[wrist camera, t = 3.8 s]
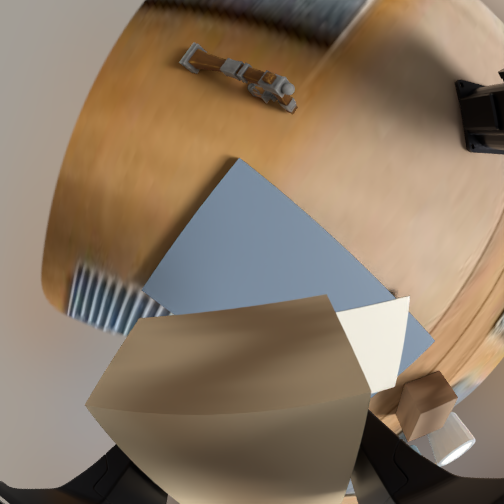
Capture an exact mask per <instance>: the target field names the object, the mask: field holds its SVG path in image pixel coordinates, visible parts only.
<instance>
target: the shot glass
mask: <svg viewBox="0 0 504 504" xmlns="http://www.w3.org/2000/svg"><path fill="white" fill-rule="evenodd" d="M427 436H428V439H429V442H430V444H431V448H432V451H433V454H434V457H435V460H436V463H437V465H438V466H439V467H441V466H444V465H446V464H448V463H450V462H452V461H454V460H455V459H457V458H459V457H460V456H461V455H463V454H464V453H465V452H466V451H467V450H468V449H469V448H471V446H472V445H473V444H474V443H475V438H474V437H473V436H472V434H471V433H470V432H469V430H468V429H467V428H466V426H465V425H464V424H463V422H462V421H461V420H460V418H459V417H458V416H457V415H456V413H454V412H451V413H450V414H449V416H448V418H447V420H446V422H445V424H444V426H443V427H442V428H440V429H438V430H436V431H434V432H431V433H429V434H427Z"/></svg>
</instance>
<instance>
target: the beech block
mask: <svg viewBox="0 0 504 504" xmlns="http://www.w3.org/2000/svg"><path fill="white" fill-rule="evenodd" d="M371 392H372V391H371V389H370V387H369V384H368V382H367V380H366V377H365V375H364V373H363V371H362V368H361V366H360V364H359V362H358V359H357V357H356V355H355V353H354V351H353V348H352V346H351V344H350V342H349V340H348V338H347V335H346V333H345V331H344V329H343V327H342V325H341V323H340V321H339V319H338V316H337V314H336V312H335V310H334V308H333V306H332V304H331V302H330V300H329V298H328V296H327V294H325V295H319V296H313V297H308V298H302V299H295V300H289V301H283V302H276V303H270V304H263V305H256V306H249V307H241V308H234V309H226V310H218V311H209V312H200V313H191V314H182V315H171V316H160V317H149V318H139V320H138V321H137V323H136V324H135V326H134V327H133V329H132V330H131V332H130V333H129V335H128V336H127V338H126V339H125V341H124V342H123V344H122V345H121V347H120V349H119V350H118V352H117V353H116V355H115V356H114V358H113V360H112V361H111V363H110V364H109V366H108V368H107V369H106V371H105V372H104V374H103V375H102V377H101V379H100V380H99V382H98V384H97V385H96V387H95V389H94V390H93V392H92V394H91V395H90V397H89V399H88V400H87V402H86V404H85V406H86V407H87V409H88V410H89V411H90V413H91V414H92V415H93V417H94V418H95V419H96V421H97V422H98V423H99V424H100V426H101V427H102V428H103V429H104V430H105V432H106V433H107V434H108V435H109V436H110V437H111V439H112V440H113V441H114V442H115V443H116V444H117V445H118V447H119V448H120V449H121V450H122V451H123V452H124V453H125V454H126V455H127V456H128V457H129V458H130V459H131V460H132V461H133V462H134V463H135V464H136V465H137V466H138V467H139V468H140V469H141V470H142V471H143V472H144V473H145V474H146V475H147V476H148V477H149V478H150V479H151V480H152V481H154V482H155V483H156V484H157V485H158V486H159V487H160V488H162V489H163V490H164V491H165V492H166V493H167V494H169V495H170V496H171V497H172V498H174V499H175V500H176V501H177V502H179V503H180V504H342V501H343V498H344V495H345V493H346V490H347V487H348V484H349V481H350V478H351V474H352V471H353V468H354V465H355V461H356V458H357V454H358V450H359V447H360V443H361V439H362V435H363V431H364V426H365V422H366V417H367V413H368V408H369V402H370V397H371Z"/></svg>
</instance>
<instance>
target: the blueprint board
mask: <svg viewBox="0 0 504 504" xmlns="http://www.w3.org/2000/svg"><path fill="white" fill-rule="evenodd" d="M142 291H143V292H145V293H146V294H147V295H149V296H150V297H151V298H153V299H154V300H155V301H157V302H158V303H159V304H161V305H162V306H163V307H165V308H166V309H167V310H169V311H170V312H172V313H173V314H174V315H182V314H191V313H200V312H209V311H218V310H226V309H234V308H241V307H249V306H256V305H263V304H270V303H276V302H283V301H289V300H295V299H302V298H308V297H313V296H319V295H325V294H327V296H328V298H329V300H330V302H331V304H332V306H333V308H334V310H335V312H336V314H337V316H338V319H339V321H340V323H341V325H342V327H343V329H344V331H345V333H346V335H347V338H348V340H349V342H350V344H351V346H352V348H353V351H354V353H355V355H356V357H357V359H358V362H359V364H360V366H361V368H362V371H363V373H364V375H365V377H366V380H367V382H368V384H369V387H370V389H371V391H372V392H371V397H373V396H374V395H375V394H377V393H378V392H379V391H383V390H386V389H389V388H392V387H395V384H396V380H397V376H398V375H400V374H401V373H402V372H403V371H404V370H405V369H406V368H407V367H409V366H410V365H411V364H412V363H413V362H414V361H415V360H416V359H417V358H418V357H419V356H420V355H421V354H422V353H423V352H425V351H426V350H427V349H428V348H429V347H430V346H431V345H432V344H433V342H434V341H435V340H434V339H433V338H432V337H431V335H430V334H429V333H428V332H427V331H426V330H425V329H424V328H423V327H422V326H421V324H420V323H419V322H418V321H417V320H416V319H415V318H414V317H413V316H412V315H411V314H410V313H409V311H408V310H409V301H410V295H409V296H405V297H401V298H397V299H396V298H395V297H394V296H393V295H392V294H391V293H390V292H389V291H388V290H387V289H386V288H385V287H384V286H383V285H382V284H381V283H380V282H379V281H378V280H377V279H376V278H375V277H374V276H373V275H372V274H371V273H370V272H369V271H368V270H367V269H366V268H365V267H364V266H363V265H362V264H361V263H360V262H359V261H358V260H357V259H356V258H355V257H354V256H353V255H352V254H351V253H350V252H348V251H347V250H346V249H345V248H344V247H343V246H342V245H341V244H340V243H339V242H338V241H337V240H336V239H335V238H333V237H332V236H331V235H330V234H329V233H328V232H327V231H326V230H325V229H324V228H322V227H321V226H320V225H319V224H318V223H317V222H316V221H315V220H313V219H312V218H311V217H310V216H309V215H308V214H307V213H306V212H304V211H303V210H302V209H301V208H300V207H299V206H297V205H296V204H295V203H294V202H293V201H292V200H291V199H289V198H288V197H287V196H286V195H285V194H283V193H282V192H281V191H280V190H279V189H277V188H276V187H275V186H274V185H273V184H271V183H270V182H269V181H268V180H267V179H265V178H264V177H263V176H262V175H260V174H259V173H258V172H257V171H256V170H254V169H253V168H252V167H251V166H249V165H248V164H247V163H245V162H244V161H243V160H242V159H240V158H239V159H238V160H237V162H236V163H235V164H234V165H233V166H232V168H231V169H230V170H229V171H228V173H227V174H226V175H225V176H224V178H223V179H222V180H221V181H220V183H219V184H218V185H217V186H216V188H215V189H214V190H213V191H212V193H211V194H210V195H209V197H208V198H207V199H206V200H205V202H204V203H203V204H202V206H201V207H200V208H199V210H198V211H197V212H196V214H195V215H194V216H193V218H192V219H191V220H190V222H189V223H188V224H187V226H186V227H185V228H184V230H183V231H182V232H181V234H180V235H179V237H178V238H177V239H176V241H175V242H174V244H173V245H172V246H171V248H170V249H169V251H168V252H167V253H166V255H165V256H164V258H163V259H162V261H161V262H160V263H159V265H158V266H157V268H156V269H155V271H154V272H153V274H152V275H151V277H150V278H149V280H148V281H147V283H146V284H145V286H144V287H143V289H142ZM371 397H370V398H371Z"/></svg>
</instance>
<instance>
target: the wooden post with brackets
mask: <svg viewBox="0 0 504 504" xmlns="http://www.w3.org/2000/svg"><path fill="white" fill-rule="evenodd" d="M179 63H180V64H182V65H183V66H184V67H186V68H187V69H188V70H189V71H191V72H192V73H196V74H197V73H198V72H199V70H200V69H205V70H212V71H219V72H222V73H224V74H225V75H226V76H229V77H233V78H235V79H237V80H239V81H240V80H242V82H243V83H244V82H245V83H248V81H249V82H251V84H249V85H248V90H249V92H250V93H251V94H252V95H253V96H254V97H259V98H262V99H263V100H264V101H265V102H266V103H268V101H269V100H270V99H271V100H273V102H275V101H276V100H278V102H279V104H280V105H281V106H282V107H283V108H284V109H286V111H287V112H289V113H291V114H294V112H295V111H296V109H297V108H298V107H297V106H296V101H295V100H294V98H292V97H291V96H290V95H291V94H293V93H294V91H295V88H294V86H293V85H292V84H291V83H289V81H288V80H287V78H286V77H282V76H279V75H277V74H274V73H271V72H269V71H268V70H266V72H263V71H260V70H257V69H254V68H252V67H251V65H250V64H247V63H245V64H244V63H243V62H242V61H235V60H232V59H230V58H228V59H227V60H226V59H222V58H219V57H217V56H214V55H212V54H209V53H207V52H206V51H205V50H204V49H203V48H202V47H201V46H200V45H199V44H196V43H195V42H194V43H193V44H192V45H191V47H190V48H189V49H188V51H187V52H186V53H185V55H184V56H183V58H182V59H181V60H180V62H179Z"/></svg>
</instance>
